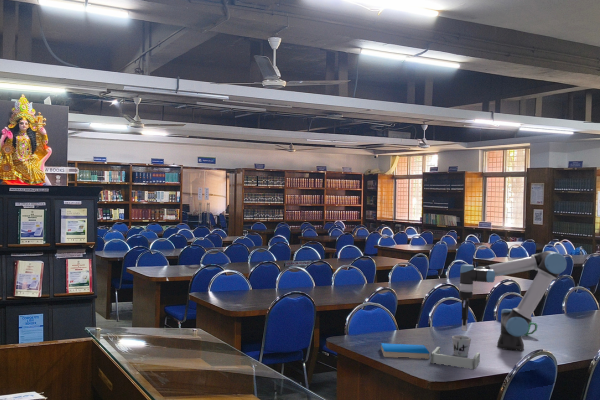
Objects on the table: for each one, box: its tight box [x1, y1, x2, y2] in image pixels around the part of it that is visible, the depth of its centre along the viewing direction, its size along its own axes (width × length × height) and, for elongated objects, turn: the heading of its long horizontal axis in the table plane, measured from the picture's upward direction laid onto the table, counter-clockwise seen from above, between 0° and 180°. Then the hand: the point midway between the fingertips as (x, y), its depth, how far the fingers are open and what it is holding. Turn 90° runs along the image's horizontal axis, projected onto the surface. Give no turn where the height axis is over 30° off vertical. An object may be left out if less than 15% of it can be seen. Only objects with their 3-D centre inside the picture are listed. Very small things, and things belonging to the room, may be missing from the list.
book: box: [380, 342, 430, 360], centre depth 314 cm, size 17×4×25 cm
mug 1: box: [451, 334, 472, 358], centre depth 317 cm, size 10×15×10 cm
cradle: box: [430, 346, 481, 370], centre depth 300 cm, size 23×17×5 cm
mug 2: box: [522, 319, 538, 337], centre depth 369 cm, size 15×10×10 cm
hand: (464, 330), depth 328 cm, fingers closed
